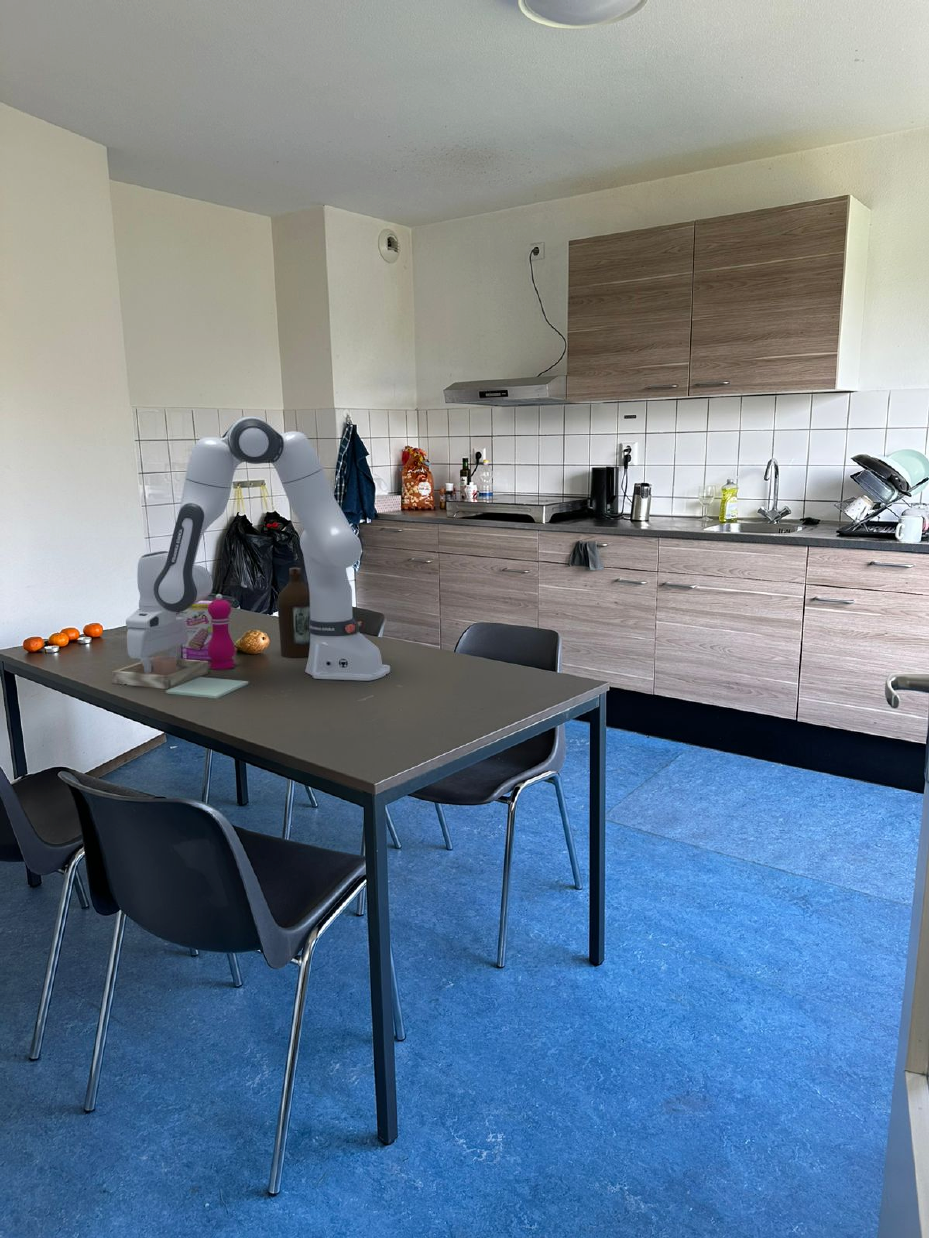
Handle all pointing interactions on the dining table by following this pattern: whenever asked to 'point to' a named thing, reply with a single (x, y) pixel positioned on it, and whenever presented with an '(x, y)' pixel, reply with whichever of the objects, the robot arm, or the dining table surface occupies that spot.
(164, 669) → the cube
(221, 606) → the pepper mill
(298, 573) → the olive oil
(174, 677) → the cubby frame
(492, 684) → the dining table surface
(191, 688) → the mat
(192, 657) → the candy bar box
